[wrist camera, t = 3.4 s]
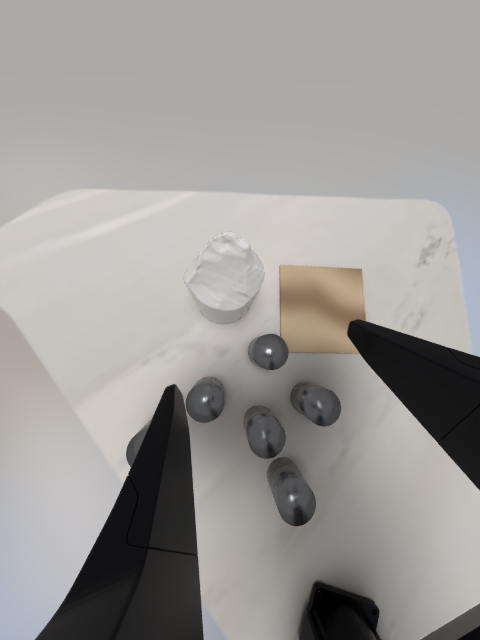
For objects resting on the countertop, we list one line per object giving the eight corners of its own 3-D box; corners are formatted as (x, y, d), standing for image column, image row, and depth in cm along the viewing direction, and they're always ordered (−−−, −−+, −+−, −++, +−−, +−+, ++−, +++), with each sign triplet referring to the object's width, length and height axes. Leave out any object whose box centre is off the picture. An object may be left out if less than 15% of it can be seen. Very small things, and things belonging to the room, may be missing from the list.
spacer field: (330, 361, 23) (353, 363, 19) (292, 496, 21) (309, 531, 17) (194, 310, 22) (188, 302, 18) (139, 443, 20) (119, 465, 16)
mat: (366, 353, 23) (367, 353, 23) (280, 351, 23) (281, 351, 22) (360, 270, 25) (361, 269, 25) (279, 265, 24) (280, 264, 24)
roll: (184, 308, 10) (157, 210, 11) (205, 330, 22) (191, 282, 23) (293, 278, 11) (261, 188, 12) (257, 315, 23) (242, 269, 24)
